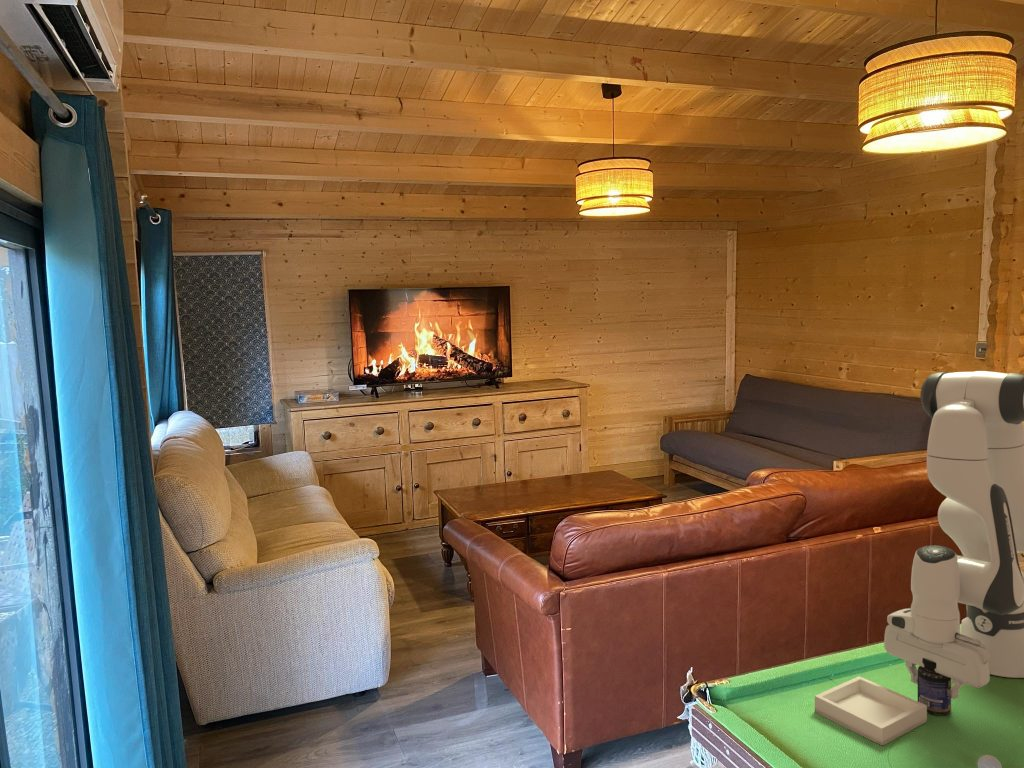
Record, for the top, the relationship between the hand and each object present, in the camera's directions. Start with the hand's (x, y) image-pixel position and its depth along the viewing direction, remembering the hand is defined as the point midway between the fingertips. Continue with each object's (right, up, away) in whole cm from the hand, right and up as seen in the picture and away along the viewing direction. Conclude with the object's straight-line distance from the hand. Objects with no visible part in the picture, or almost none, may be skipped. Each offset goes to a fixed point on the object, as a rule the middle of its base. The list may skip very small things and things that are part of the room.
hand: (934, 689), depth 153 cm
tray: (-14, -5, -2) cm, 15 cm away
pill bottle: (0, -4, 0) cm, 4 cm away
